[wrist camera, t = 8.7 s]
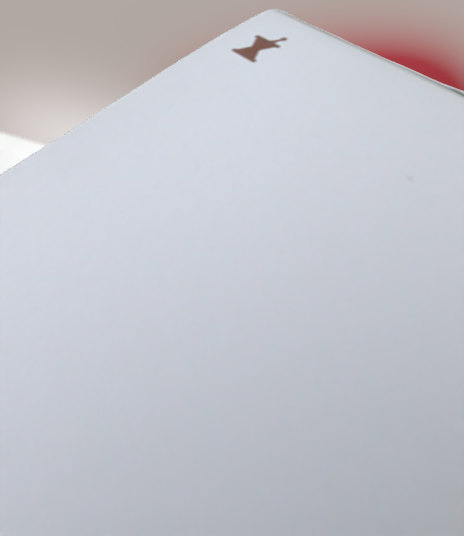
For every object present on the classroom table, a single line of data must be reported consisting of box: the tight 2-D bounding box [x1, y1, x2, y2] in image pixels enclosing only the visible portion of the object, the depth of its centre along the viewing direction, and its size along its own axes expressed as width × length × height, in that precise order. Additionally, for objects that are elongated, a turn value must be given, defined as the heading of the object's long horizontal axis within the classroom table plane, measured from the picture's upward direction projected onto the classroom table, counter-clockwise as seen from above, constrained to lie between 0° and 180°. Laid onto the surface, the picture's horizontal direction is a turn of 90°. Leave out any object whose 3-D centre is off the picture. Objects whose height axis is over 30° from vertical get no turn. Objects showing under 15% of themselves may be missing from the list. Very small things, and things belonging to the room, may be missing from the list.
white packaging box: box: [0, 9, 464, 536], centre depth 9 cm, size 7×7×13 cm
